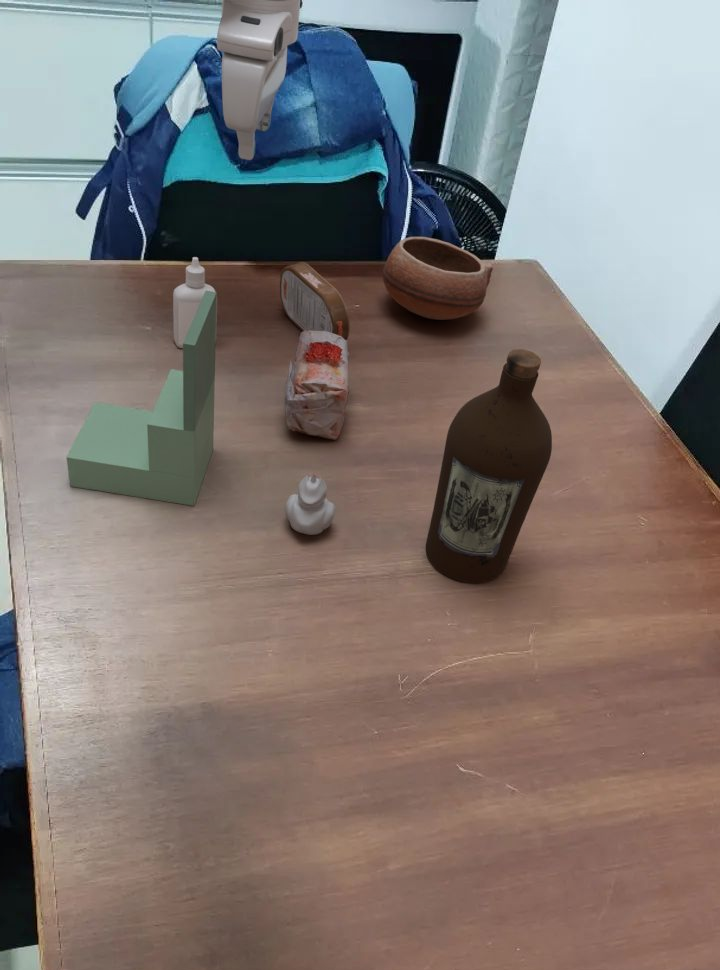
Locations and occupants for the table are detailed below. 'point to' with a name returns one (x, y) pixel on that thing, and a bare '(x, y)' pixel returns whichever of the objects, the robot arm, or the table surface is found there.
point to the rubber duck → (310, 507)
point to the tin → (312, 301)
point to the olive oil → (489, 475)
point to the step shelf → (156, 429)
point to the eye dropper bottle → (188, 300)
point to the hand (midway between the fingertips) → (254, 142)
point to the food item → (318, 385)
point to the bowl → (436, 278)
